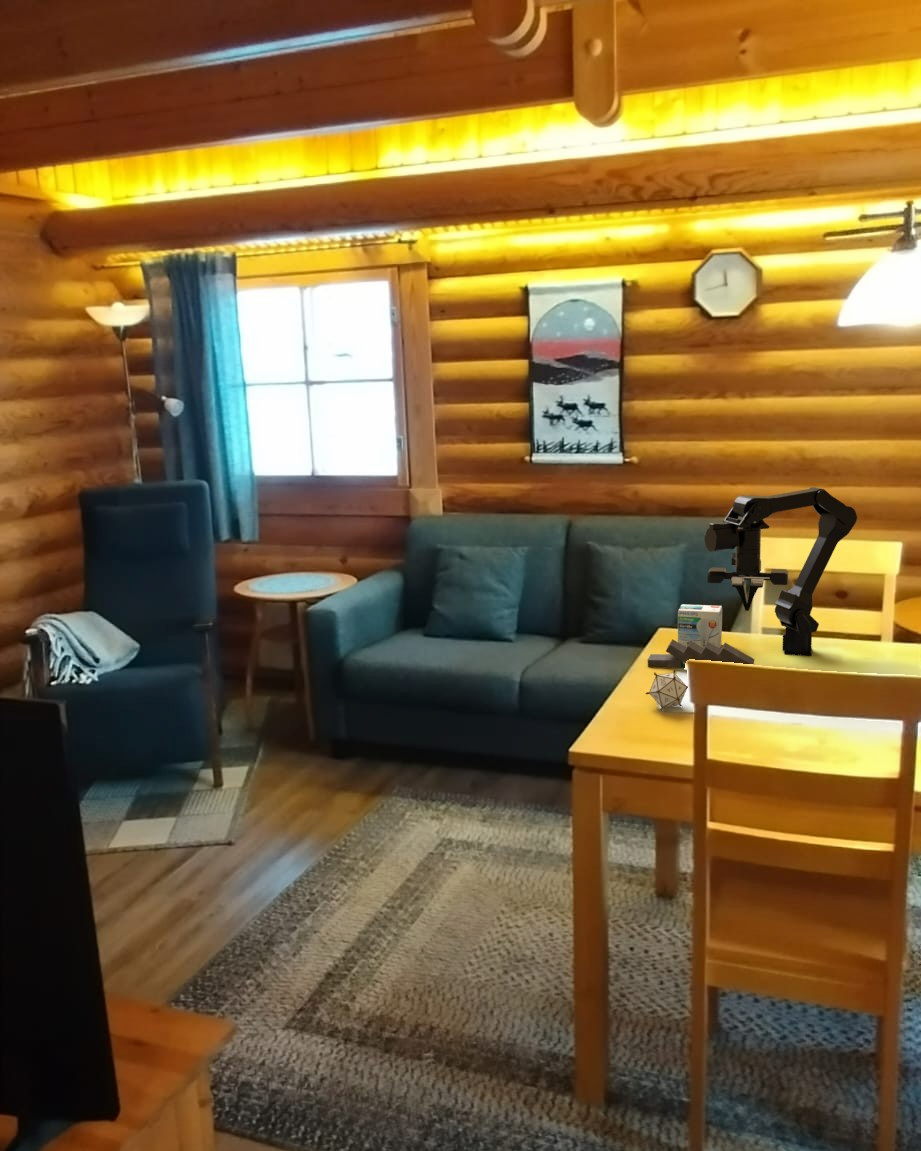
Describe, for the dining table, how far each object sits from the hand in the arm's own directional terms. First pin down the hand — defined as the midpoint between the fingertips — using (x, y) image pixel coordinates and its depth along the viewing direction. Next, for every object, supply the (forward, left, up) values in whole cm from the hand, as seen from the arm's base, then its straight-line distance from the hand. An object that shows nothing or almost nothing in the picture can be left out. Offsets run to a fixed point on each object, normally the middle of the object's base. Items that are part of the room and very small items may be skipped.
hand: (747, 610), depth 250 cm
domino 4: (+2, +9, -11) cm, 15 cm away
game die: (+14, +39, -13) cm, 43 cm away
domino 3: (+6, +9, -11) cm, 16 cm away
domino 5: (-2, +9, -11) cm, 15 cm away
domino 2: (+11, +9, -11) cm, 18 cm away
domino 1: (+15, +9, -11) cm, 20 cm away
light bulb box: (+12, -8, -13) cm, 19 cm away
